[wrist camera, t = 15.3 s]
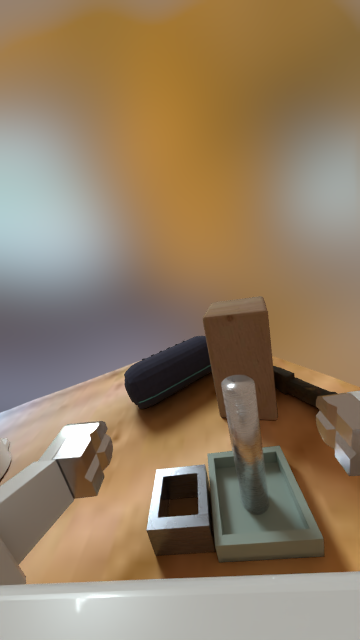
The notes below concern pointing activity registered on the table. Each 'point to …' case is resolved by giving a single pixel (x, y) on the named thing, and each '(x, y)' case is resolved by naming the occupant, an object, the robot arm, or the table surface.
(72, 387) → the table surface
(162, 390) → the portable speaker
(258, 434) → the steel pin
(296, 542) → the tray
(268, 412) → the wooden block
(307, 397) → the hand tool
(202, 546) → the hollow square frame
